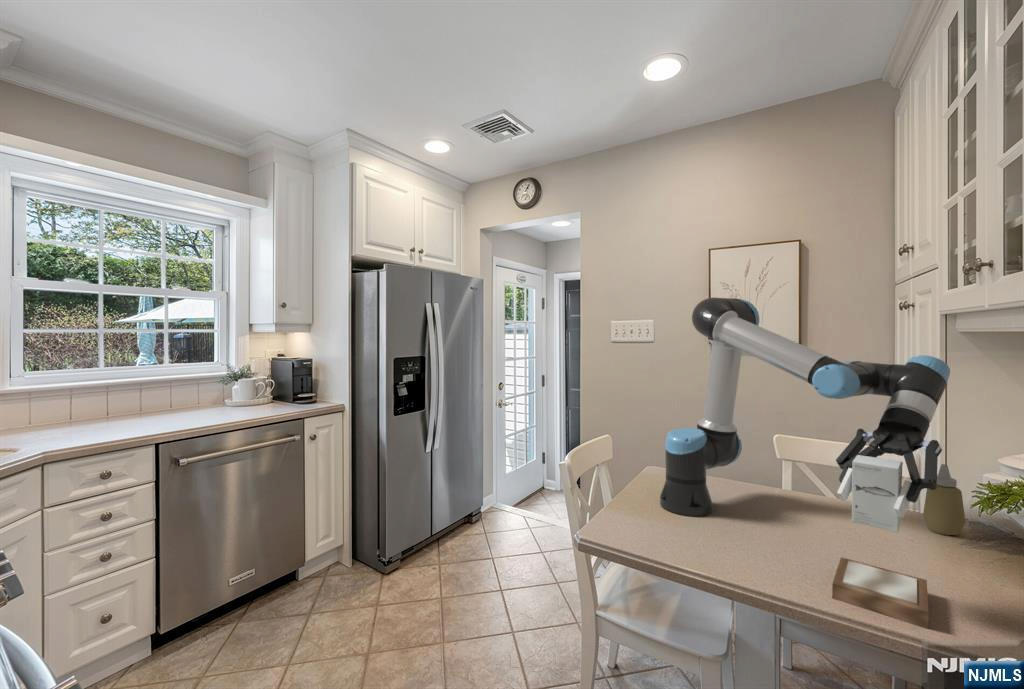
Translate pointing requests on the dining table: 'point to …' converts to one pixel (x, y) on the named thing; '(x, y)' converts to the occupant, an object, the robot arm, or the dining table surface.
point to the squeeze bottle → (944, 505)
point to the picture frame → (882, 591)
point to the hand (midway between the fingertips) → (868, 504)
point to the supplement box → (876, 492)
